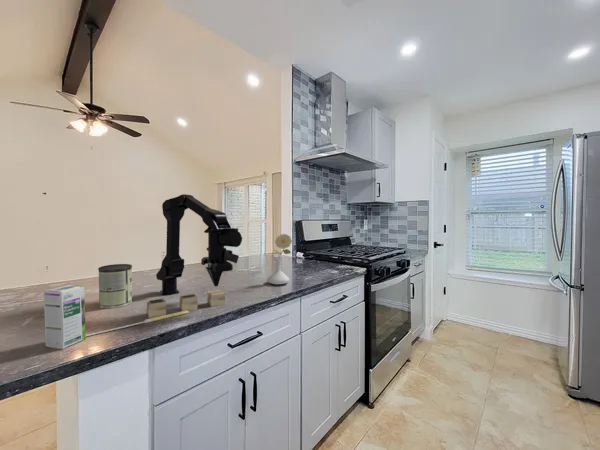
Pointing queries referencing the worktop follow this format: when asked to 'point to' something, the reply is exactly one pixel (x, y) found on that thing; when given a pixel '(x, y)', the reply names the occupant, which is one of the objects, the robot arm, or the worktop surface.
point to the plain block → (216, 298)
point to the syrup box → (64, 316)
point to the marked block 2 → (188, 302)
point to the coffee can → (115, 285)
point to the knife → (147, 321)
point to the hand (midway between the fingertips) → (216, 286)
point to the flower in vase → (278, 275)
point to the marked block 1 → (156, 308)
